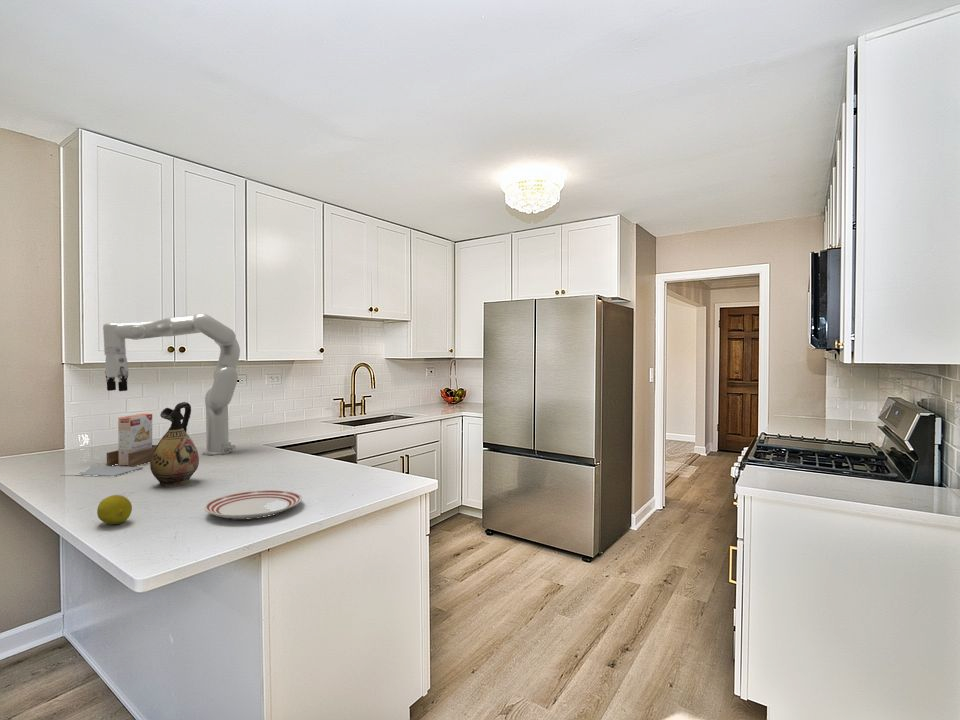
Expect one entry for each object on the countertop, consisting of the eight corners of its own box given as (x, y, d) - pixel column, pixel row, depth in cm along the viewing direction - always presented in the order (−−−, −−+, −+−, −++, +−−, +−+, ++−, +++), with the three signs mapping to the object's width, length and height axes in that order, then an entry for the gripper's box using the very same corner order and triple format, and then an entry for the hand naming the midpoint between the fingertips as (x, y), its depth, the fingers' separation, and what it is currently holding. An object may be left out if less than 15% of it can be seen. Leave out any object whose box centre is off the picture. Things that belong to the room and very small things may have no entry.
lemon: (136, 524, 143) (135, 496, 142) (102, 531, 137) (101, 502, 137) (126, 515, 150) (126, 489, 150) (94, 522, 144) (93, 494, 144)
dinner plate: (274, 493, 174) (274, 483, 174) (319, 508, 157) (319, 498, 157) (188, 513, 153) (188, 502, 153) (229, 533, 136) (229, 521, 136)
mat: (142, 468, 210) (142, 467, 210) (114, 477, 196) (114, 475, 196) (91, 467, 213) (91, 465, 213) (60, 475, 199) (59, 473, 199)
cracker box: (131, 466, 214) (130, 417, 214) (117, 466, 214) (116, 417, 214) (153, 459, 228) (153, 413, 228) (140, 459, 228) (139, 413, 228)
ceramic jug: (177, 490, 177) (175, 405, 176) (140, 488, 180) (138, 404, 179) (212, 478, 194) (210, 400, 193) (177, 476, 197) (176, 400, 196)
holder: (164, 458, 230) (164, 445, 230) (131, 467, 211) (130, 453, 211) (142, 457, 232) (141, 444, 231) (106, 466, 213) (106, 452, 213)
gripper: (135, 350, 217) (137, 390, 218) (114, 351, 226) (116, 389, 227) (115, 351, 211) (117, 392, 212) (95, 352, 219) (97, 391, 220)
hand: (117, 390), depth 219 cm, fingers open, 9 cm apart
